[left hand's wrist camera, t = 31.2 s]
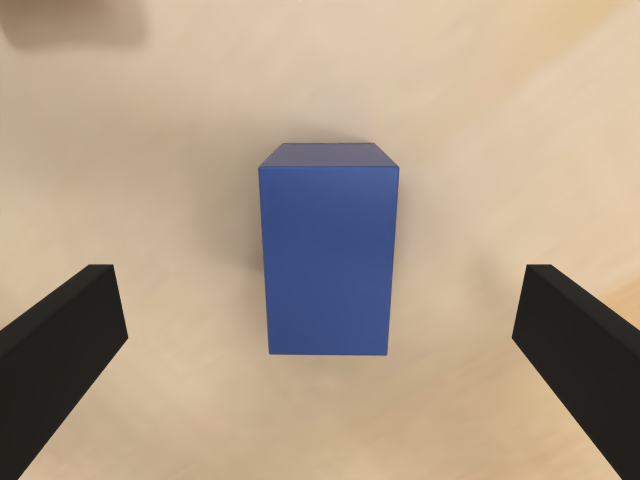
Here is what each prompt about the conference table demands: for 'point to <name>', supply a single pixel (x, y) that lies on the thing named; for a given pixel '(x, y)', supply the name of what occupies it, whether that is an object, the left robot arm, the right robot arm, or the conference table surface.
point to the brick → (328, 247)
